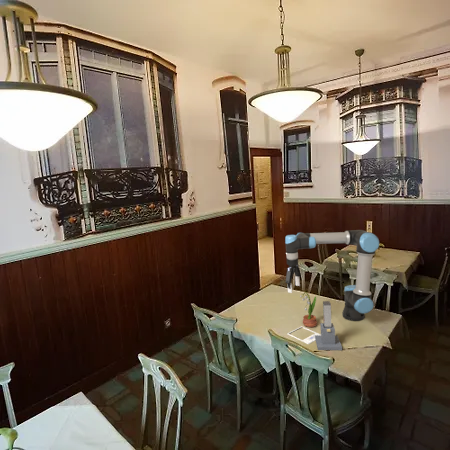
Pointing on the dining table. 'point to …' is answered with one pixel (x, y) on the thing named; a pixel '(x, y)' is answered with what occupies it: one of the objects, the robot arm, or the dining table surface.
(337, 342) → the jack stand
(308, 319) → the potted flower
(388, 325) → the dining table surface
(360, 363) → the dining table surface
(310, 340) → the photo frame
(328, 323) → the post
